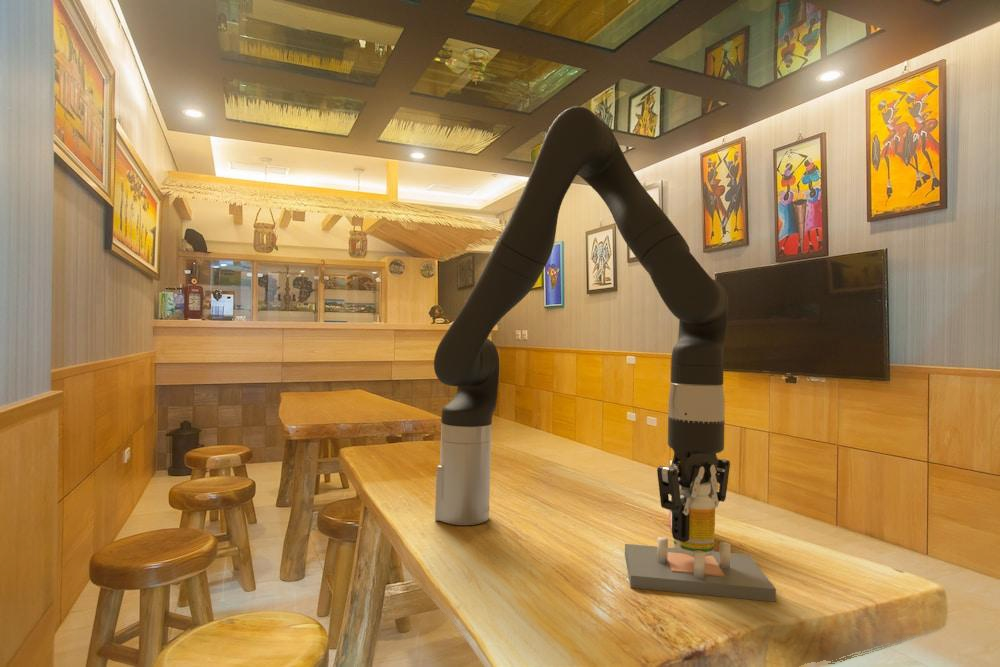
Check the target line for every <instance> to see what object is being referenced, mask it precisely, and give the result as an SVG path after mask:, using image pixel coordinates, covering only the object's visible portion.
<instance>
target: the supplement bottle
mask: <svg viewBox="0 0 1000 667" xmlns="http://www.w3.org/2000/svg"><path fill="white" fill-rule="evenodd" d="M680 489H682V490H685V491H687V490H689V488H685V487H682V486H681V485H680ZM710 492H711V488H710V483H709V482H706V483H702V484H699V488H698V492H697V496H696V498H695V499H693V500H692V503H691V506H690V510H689V513H688V515H689V540H688V541H686V542H681V541H678V540H676V539H674V538H673V548H675V549H676V550H677V551H679V552H681V553H684V554H687V555H691V556H694V551H695V550H700V551H703V552H705V556H709V555H711V554H712V553H713V552H714V550H715V530H714V528H715V527H716V508H715V503H714V501H713V499H712V498H711V497H709V496H708V494H710ZM680 499H681V504H683V500H684V496H681V497H680Z"/></svg>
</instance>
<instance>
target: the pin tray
mask: <svg viewBox="0 0 1000 667" xmlns="http://www.w3.org/2000/svg"><path fill="white" fill-rule="evenodd" d="M624 557H625V562H626V570H627V575H628V576H627V577H628V580H629V586H630V588H631V589H642V590H653V591H662V592H673V593H682V594H692V595H700V596H701V595H703V596H711V597H712V596H713V597H721V598H722V597H723V598H732V599H733V598H734V599H741V600H742V599H744V600H752V601H764V602H772V603H775V602H776V599H777V598H776V597H777V594H776V592H777V589H776V587H775V586H774V584H772V583H771V581H770V580H769V578H768V577H767V575H765V573H764V572H763V570H761V568H760V567H759V566H758V564H757V563H756V562H755V560H754V559H753V558H752V557H751V555H750V554H748V553H747V554H746V553H735V552H731V543H729V542H724V541H722V542H721V541H720V542H719V551H714V552H713V553H712V554H711V555H709V556H705V552H703V551H700V550H695V551H694V556H691V555H687V554H684V553H681V552H679V551H677V550H676V549H675V547H669V539H668V538H667V537H664V536H659V537H657V545H656V546H653V545H643V544H630V543H624Z"/></svg>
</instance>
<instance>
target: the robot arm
mask: <svg viewBox="0 0 1000 667" xmlns="http://www.w3.org/2000/svg"><path fill="white" fill-rule="evenodd" d="M577 176H578V177H580V178H581V179H582V180H583V181H584V182H586V183H587V184H588V185H589V186H590V187H591V188H592V190H594V191H595V192H596V193H597V194H598V195H599V197H600V198H601V200H602V201H603V202H604V203H605V205H606V207H607V208H608V210H609V212H610V214H611V215H612V218H613V221H614V223H615V225H616V228H617V230H618V231H619V233H620V235H621V237H622V239H623V241H624V243H626V245H627V246H628V248H629V249H630V251H631V252H632V254H633V255H634V257H636V259H637V260H638V262H639V263H640V265H641V266H642V267H643V268H644V270H645V271H646V272H647V273H648V275H649V277H650V279H651V281H652V283H653V284H654V287H655V288H656V290H657V292H658V295H659V296H660V298H661V299H662V301H663V303H664V304H665V307H667V309H668V310H669V311H670V312H671V314H672V315H673V316H675V318H676V319H677V320H679V322H678V337H677V338H678V339H677V343H676V344H675V345H674V346H673V348H672V351H671V352H672V353H671V357H670V358H671V361H670V382H671V383H670V386H669V393H668V394H669V395H668V411H667V413H668V416H667V420H668V421H667V445H668V447H669V448H670V449H672V451H673V458H672V464H671V465H670V464H669V465H667V466H663V465H659V466H657V470H656V472H657V482H658V490H659V500H660V507H661V508H662V509H665V510H670V511H671V512H672V531H671V534H672V535H671V536H672V538H673V540H674V539H676V540H678V541H681V542H686V541H688V540H689V515H688V513H689V510H690V506H691V503H692V500H693V499H695V498H696V496H697V492H698V488H699V484H702V483H706V482H709V483H710V488H711V492H710V494H708V496H709V497H711V498H712V499H713V501H714V503H715V509H717V508H718V507H719V505H720V504H719V503H720V502H725V501H726V498H727V492H728V491H727V490H728V484H729V483H728V482H729V477H730V476H729V474H730V469H731V468H730V467H731V462H730V461H729V460H727V459H724V458H720V457H719V458H718V456H717V454H718V453H722V452H723V451H725V450H724V449H725V422H726V421H725V420H726V419H725V418H726V417H725V413H726V412H725V409H726V403H725V402H726V401H725V399H726V398H725V394H724V393H725V392H724V347H725V346H724V345H725V342H726V341H725V339H726V335H727V327H728V318H729V297H728V293H727V292H726V290H725V288H724V286H723V285H722V284H721V283H720V282H718V281H717V280H715V279H714V278H712V277H711V276H710V275H709V273H707V272H706V269H704V268H703V267H702V266H701V264H700V263H699V261H698V260H697V259H696V258H695V257H694V255H693V254H692V252H691V250H690V246H689V244H688V242H687V241H686V239H685V238H684V237H683V235H682V233H681V232H679V230H678V229H677V227H676V226H675V225H674V223H673V222H672V221H671V219H669V216H667V214H666V213H665V211H664V210H663V209H661V207H660V206H659V204H657V202H656V201H655V200H654V198H653V197H652V196H651V195H650V194H649V193H648V191H647V190H646V189H645V187H644V186H643V185H642V183H641V182H640V181H639V178H638V177H637V176H636V175H635V173H634V171H633V169H632V168H631V165H630V164H629V163H628V160H627V159H626V157H625V154H624V153H623V150H622V148H621V146H620V145H619V142H618V141H617V138H616V136H615V134H614V132H613V130H612V128H611V126H609V125H608V124H607V123H606V122H605V121H603V120H602V119H601V118H600V117H599V116H597V114H595V113H594V112H592V110H590V109H588V108H586V107H584V106H581V105H580V106H579V105H578V106H577V105H574V106H572V107H568V108H567V109H564V110H563V111H561V113H559V114H558V116H557V117H556V118H555V119H554V120H553V122H552V123H551V125H550V126H549V128H548V130H547V132H546V134H545V136H544V139H543V142H542V143H541V147H540V149H539V152H538V154H537V156H536V160H535V161H534V164H533V166H532V170H531V171H530V174H529V176H528V179H527V182H526V183H525V186H524V188H523V190H522V192H521V193H520V196H519V197H518V200H517V202H516V203H515V206H514V208H513V210H512V213H511V215H510V217H509V219H508V221H507V223H506V225H505V227H504V228H503V230H502V232H501V233H500V235H499V237H498V239H497V241H496V243H495V245H494V246H493V248H492V251H490V254H489V256H488V259H487V261H486V263H485V266H484V267H483V269H482V271H481V273H480V275H479V277H478V279H477V281H476V282H475V284H474V286H473V288H472V290H471V292H470V294H469V295H468V298H467V299H466V301H465V303H464V304H463V307H462V308H461V309H460V311H459V313H458V314H457V315H456V317H455V318H454V320H453V322H452V323H451V324H450V326H449V328H448V329H447V331H446V332H445V333H444V336H443V337H442V339H441V341H440V342H439V343H438V346H437V348H436V351H435V354H434V358H433V370H434V373H435V375H436V378H437V379H438V380H439V381H440V382H441V383H442V384H444V385H445V386H450V387H457V390H456V393H455V395H454V396H453V398H452V400H450V401H449V402H448V403H447V404H445V406H443V407H442V410H441V423H440V424H441V425H440V427H441V429H440V453H439V455H440V456H439V457H440V458H439V460H440V461H439V464H438V465H437V466H436V474H435V476H436V480H435V506H434V507H435V510H434V520H435V521H440V522H442V523H445V524H448V525H453V526H455V525H456V526H475V525H480V524H483V523H486V522H488V520H489V518H490V496H491V495H490V494H491V493H490V492H491V464H492V463H491V458H492V455H491V454H492V427H493V426H492V423H493V415H494V412H495V410H496V407H497V403H498V392H499V381H500V380H499V379H500V357H499V353H498V352H499V351H498V349H497V346H496V345H495V344H494V342H493V341H492V340H491V339H489V336H490V335H491V332H492V331H493V330H494V328H495V327H496V325H498V322H500V321H501V319H502V318H503V317H505V316H506V315H507V314H508V313H509V312H510V311H511V310H512V309H513V308H514V307H516V306H517V305H518V304H519V303H520V302H521V301H522V300H523V299H524V298H526V296H527V295H528V294H529V293H530V292H531V290H532V289H533V287H534V286H535V285H536V284H537V282H538V280H539V278H540V276H541V275H542V273H543V271H544V270H545V268H546V266H547V264H548V262H549V260H550V259H551V255H552V252H553V249H554V245H555V240H556V234H557V228H558V227H557V226H558V219H559V213H560V208H561V206H562V203H563V200H564V199H565V196H566V194H567V193H568V190H569V189H570V187H571V185H572V183H573V182H574V180H575V178H576V177H577ZM718 484H719V485H718ZM680 485H681V486H682V487H685V488H689V490H687V491H685V490H682V489H680ZM670 495H671V496H672V497H671V501H670ZM681 496H684V500H683V504H681V499H680V497H681ZM714 531H715V528H714Z"/></svg>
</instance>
